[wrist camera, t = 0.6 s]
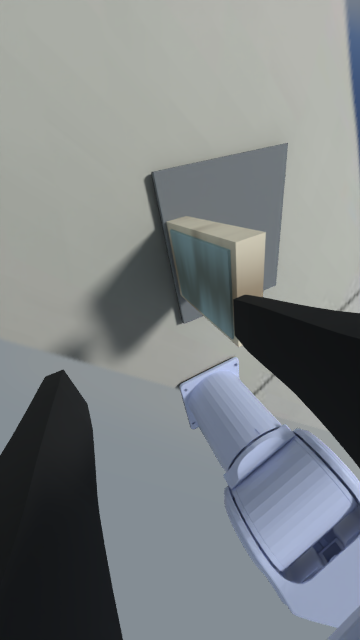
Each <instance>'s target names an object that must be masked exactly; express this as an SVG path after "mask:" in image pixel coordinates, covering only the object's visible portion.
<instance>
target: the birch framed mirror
mask: <svg viewBox="0 0 360 640" xmlns="http://www.w3.org/2000/svg"><path fill="white" fill-rule="evenodd" d="M166 223H167V228H168V233H169V238H170V243H171V248H172V254H173V259H174V264H175V269H176V274H177V279H178V284H179V289H180V294H181V296H182V297H183V298H184V299H185V300H186V301H188V302H189V303H190V304H191V305H192V306H193V307H194V308H195V309H196V310H198V311H199V312H200V313H201V314H202V315H203V316H204V317H205V318H207V319H208V320H209V321H210V322H211V323H212V324H213V325H214V326H215V327H217V328H218V329H219V330H220V331H221V332H222V333H223V334H224V335H225V336H227V337H228V338H229V339H230V340H231V341H232V342H233V343H234V344H235V345H237V346H238V347H240V346H242V344H241V343H240V341H239V340H238V339H237V338H236V337H235V333H234V306H233V299H235V298H238V297H240V296H242V295H252V296H258V297H263V280H264V260H265V239H266V232H263V231H258V230H253V229H248V228H243V227H238V226H233V225H228V224H223V223H218V222H213V221H208V220H203V219H198V218H193V217H189V216H185V217H181V218H177V219H174V220H170V221H167V222H166Z"/></svg>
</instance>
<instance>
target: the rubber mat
mask: <svg viewBox="0 0 360 640" xmlns="http://www.w3.org/2000/svg"><path fill="white" fill-rule="evenodd" d="M287 148H288V143H285V144H280V145H276V146H271V147H266V148H262V149H257V150H252V151H248V152H243V153H238V154H234V155H229V156H224V157H220V158H215V159H210V160H206V161H201V162H196V163H192V164H187V165H182V166H178V167H173V168H169V169H164V170H159V171H155V172H151V173H152V178H153V183H154V187H155V192H156V197H157V202H158V207H159V211H160V216H161V221H162V226H163V231H164V235H165V240H166V245H167V250H168V255H169V259H170V264H171V269H172V274H173V279H174V283H175V288H176V293H177V298H178V303H179V307H180V312H181V317H182V322H183V323H184V324H185V323H187V322H190V321H192V320H195V319H197V318H199V317H202V316H203V315H202V314H201V313H200V312H199V311H198V310H196V309H195V308H194V307H193V306H192V305H191V304H190V303H189V302H188V301H186V300H185V299H184V298H183V297H182V296H181V294H180V289H179V284H178V279H177V274H176V269H175V264H174V259H173V254H172V248H171V243H170V238H169V233H168V228H167V223H166V222H167V221H170V220H174V219H177V218H181V217H185V216H189V217H193V218H198V219H203V220H208V221H213V222H218V223H223V224H228V225H233V226H238V227H243V228H248V229H253V230H258V231H263V232H266V239H265V260H264V280H263V290H266V289H268V288H270V287H273V286H275V285H276V277H277V266H278V254H279V242H280V230H281V219H282V207H283V195H284V183H285V172H286V160H287Z"/></svg>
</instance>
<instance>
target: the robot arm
mask: <svg viewBox="0 0 360 640" xmlns="http://www.w3.org/2000/svg"><path fill="white" fill-rule="evenodd" d="M233 306H234V333H235V337H236V338H237V339H238V340H239V341H240V343H241V344H242V345H243V346H244V347H245V348H246V349H247V351H248V352H249V353H250V354H251V355H253V356H254V357H255V358H256V359H257V360H258V361H259V362H260V363H261V364H263V365H264V366H265V367H266V368H267V369H268V370H269V371H271V372H272V373H273V374H274V375H275V376H276V377H277V378H278V379H280V380H281V381H282V382H283V383H284V384H285V385H286V386H288V387H289V388H290V389H291V390H292V391H293V392H294V393H295V394H296V395H297V396H298V397H299V398H300V399H301V400H302V402H303V403H304V404H305V405H306V406H307V407H308V408H309V409H310V410H311V411H312V412H313V413H314V414H315V416H316V417H317V418H318V419H319V420H320V421H321V422H322V424H323V425H324V426H325V427H326V428H327V429H328V430H329V431H330V433H331V434H332V435H333V436H334V437H335V439H336V440H337V441H338V442H339V443H340V445H341V446H342V447H343V448H344V449H345V450H346V452H347V453H348V454H349V455H350V457H351V458H352V459H353V460H354V461H355V463H356V464H357V465H358V467H359V468H360V313H351V312H342V311H334V310H328V309H321V308H315V307H309V306H304V305H298V304H293V303H288V302H283V301H278V300H273V299H269V298H264V297H258V296H252V295H242V296H240V297H238V298H235V299H233ZM180 391H181V394H182V398H183V402H184V405H185V409H186V413H187V416H188V420H189V424H190V427H191V429H196V428H197V427H199V428H200V430H201V431H202V433H203V435H204V437H205V439H206V440H207V442H208V443H209V446H210V447H211V449H212V451H213V453H214V454H215V456H216V458H217V460H218V461H219V463H220V465H221V466H222V468H223V469H224V470H225V471H226V473H225V474H224V478H225V480H226V482H227V483H228V486H227V487H226V488H225V490H224V495H225V496H224V504H225V508H226V511H227V514H228V516H229V519H230V521H231V523H232V526H233V528H234V530H235V532H236V534H237V536H238V538H239V539H240V541H241V543H242V545H243V547H244V548H245V550H246V551H247V553H248V555H249V556H250V558H251V559H252V561H253V562H254V563H255V565H256V566H257V567H258V569H259V570H260V571H261V572H262V573H263V574H264V575H265V576H266V578H267V579H268V581H269V582H270V584H271V585H272V587H273V588H274V590H275V591H276V593H277V595H278V596H279V598H280V599H281V601H282V602H283V603H284V604H285V605H287V606H288V608H289V609H290V611H291V613H292V614H294V615H295V616H297V617H300V618H303V619H306V620H310V621H313V622H317V623H321V624H325V625H328V626H331V627H335V628H337V629H336V630H335V632H333V634H331V635H330V636H329V638H328V639H327V640H360V482H359V480H358V479H357V478H356V476H355V475H354V474H353V473H352V472H351V470H350V469H349V468H348V467H347V466H346V465H345V464H344V463H343V462H342V460H341V459H340V458H339V457H338V456H337V455H336V454H335V453H334V452H333V451H332V450H331V449H330V448H329V447H328V446H326V445H325V444H324V443H323V442H322V441H321V440H320V439H319V438H317V437H316V436H315V435H314V434H312V433H311V432H309V431H307V430H303V429H299V428H296V429H295V430H294V431H291V430H290V429H289V427H288V426H287V425H286V424H284V425H281V423H280V422H279V421H278V420H277V419H276V418H275V417H274V416H273V415H272V414H271V413H270V412H269V411H268V409H267V408H266V407H265V406H264V405H263V404H262V403H261V402H260V401H259V400H258V399H257V398H256V397H255V395H254V394H253V393H252V392H251V391H250V390H249V389H248V388H247V387H246V386H245V385H244V384H243V383H242V381H241V380H240V379H239V360H238V359H237V358H236V357H234V358H232V359H230V360H228V361H226V362H224V363H222V364H220V365H217V366H215V367H213V368H211V369H209V370H207V371H205V372H203V373H201V374H199V375H197V376H195V377H193V378H191V379H189V380H187V381H185V382H183V383H182V384H181V385H180ZM0 640H123V639H122V633H121V628H120V624H119V618H118V613H117V608H116V604H115V599H114V593H113V589H112V583H111V578H110V572H109V567H108V561H107V556H106V550H105V545H104V539H103V533H102V527H101V520H100V514H99V506H98V497H97V484H96V470H95V455H94V441H93V429H92V424H91V419H90V414H89V410H88V405H87V403H86V401H85V400H84V398H83V397H82V395H81V394H80V393H79V391H78V390H77V388H76V387H75V386H74V384H73V383H72V381H71V380H70V378H69V377H68V375H67V374H66V373H65V371H64V370H61V371H59V372H56V373H54V374H51V375H49V376H46V377H45V378H44V380H43V382H42V383H41V385H40V387H39V389H38V391H37V393H36V394H35V396H34V398H33V400H32V402H31V404H30V405H29V407H28V409H27V411H26V413H25V414H24V416H23V418H22V420H21V421H20V423H19V425H18V427H17V429H16V431H15V432H14V434H13V436H12V437H11V439H10V441H9V442H8V444H7V445H6V447H5V449H4V450H3V452H2V454H1V455H0Z"/></svg>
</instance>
